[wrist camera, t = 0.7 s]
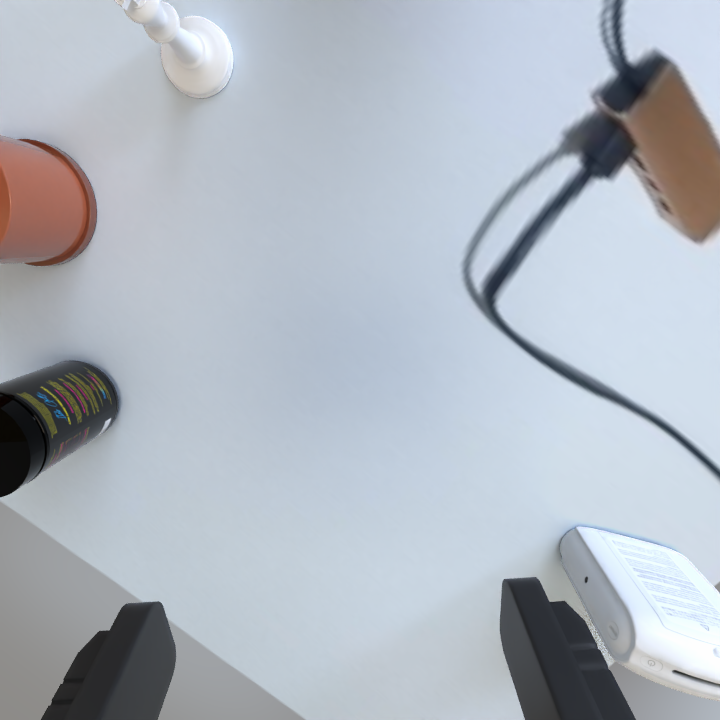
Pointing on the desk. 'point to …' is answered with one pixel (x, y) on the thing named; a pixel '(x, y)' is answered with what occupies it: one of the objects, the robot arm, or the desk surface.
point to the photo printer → (648, 608)
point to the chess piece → (185, 46)
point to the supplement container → (50, 418)
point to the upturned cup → (42, 204)
